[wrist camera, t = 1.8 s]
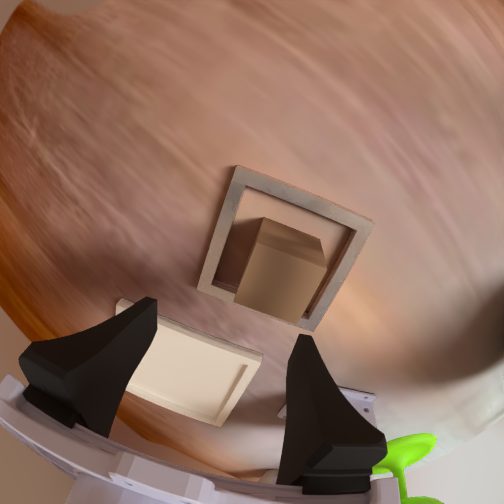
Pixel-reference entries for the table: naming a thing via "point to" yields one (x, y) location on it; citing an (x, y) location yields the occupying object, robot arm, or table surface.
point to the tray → (192, 371)
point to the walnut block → (281, 272)
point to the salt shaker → (269, 476)
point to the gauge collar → (301, 198)
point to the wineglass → (406, 462)
